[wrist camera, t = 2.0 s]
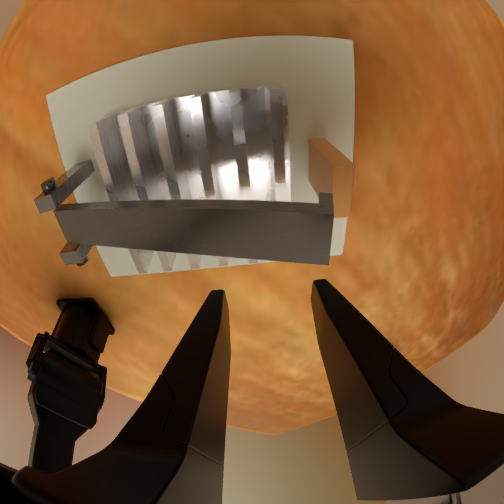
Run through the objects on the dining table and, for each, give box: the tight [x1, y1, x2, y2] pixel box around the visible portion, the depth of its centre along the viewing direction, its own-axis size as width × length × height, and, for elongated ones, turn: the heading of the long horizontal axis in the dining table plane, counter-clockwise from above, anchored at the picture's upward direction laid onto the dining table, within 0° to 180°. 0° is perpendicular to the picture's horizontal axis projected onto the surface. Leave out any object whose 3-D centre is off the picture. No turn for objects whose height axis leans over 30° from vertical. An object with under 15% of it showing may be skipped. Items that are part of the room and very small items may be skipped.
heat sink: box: [34, 85, 291, 274], centre depth 16 cm, size 16×11×7 cm
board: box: [46, 36, 355, 277], centre depth 19 cm, size 22×18×1 cm
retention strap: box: [54, 193, 334, 265], centre depth 13 cm, size 16×2×2 cm, turn 95°
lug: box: [308, 138, 355, 218], centre depth 16 cm, size 1×3×6 cm, turn 5°
